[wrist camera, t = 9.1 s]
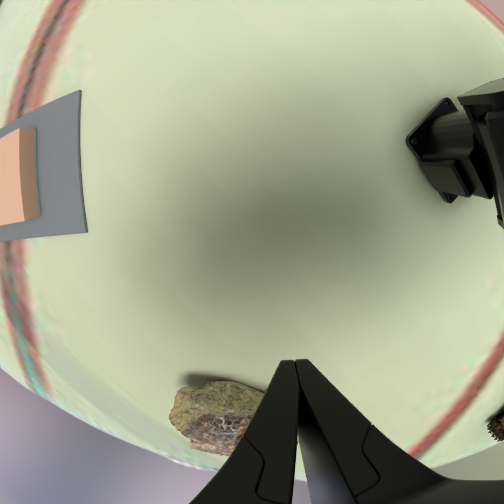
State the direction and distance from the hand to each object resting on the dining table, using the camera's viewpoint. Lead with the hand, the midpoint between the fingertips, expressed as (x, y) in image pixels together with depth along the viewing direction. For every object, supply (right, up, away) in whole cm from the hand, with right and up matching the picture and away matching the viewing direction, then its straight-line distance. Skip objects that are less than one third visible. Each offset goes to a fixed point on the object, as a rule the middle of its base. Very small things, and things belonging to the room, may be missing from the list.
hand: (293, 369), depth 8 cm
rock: (-2, -11, +16) cm, 20 cm away
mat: (-25, +11, +10) cm, 29 cm away
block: (-20, +10, +8) cm, 24 cm away
